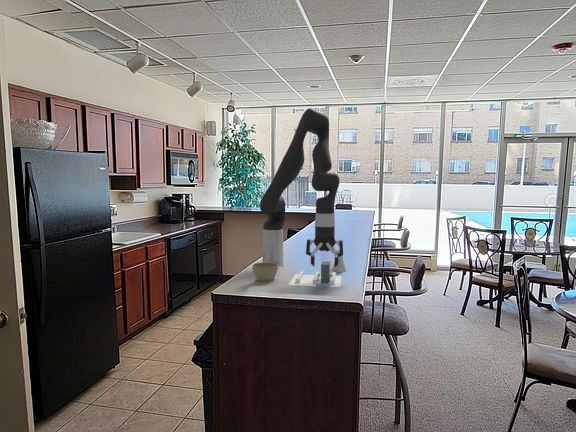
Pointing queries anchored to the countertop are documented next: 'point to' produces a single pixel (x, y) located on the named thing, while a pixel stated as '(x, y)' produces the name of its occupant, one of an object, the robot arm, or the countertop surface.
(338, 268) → the flask
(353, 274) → the countertop surface
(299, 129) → the robot arm
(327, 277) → the grey rectangular block
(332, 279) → the board
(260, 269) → the flower pot
